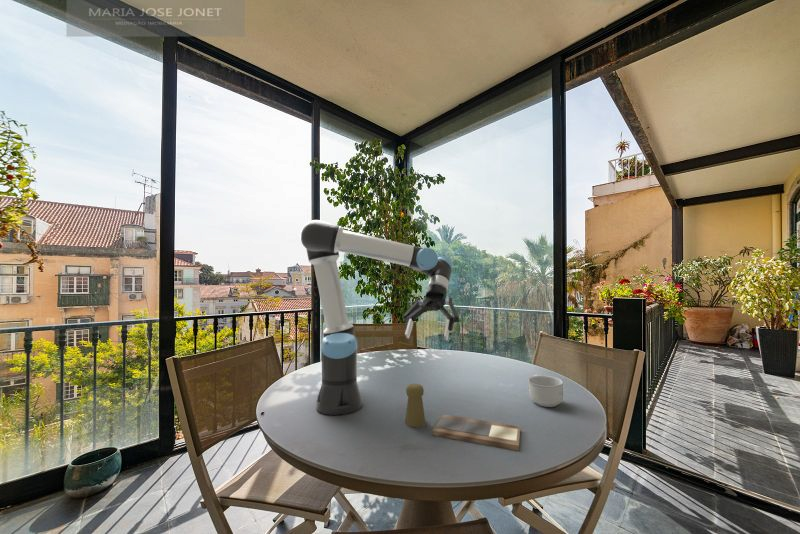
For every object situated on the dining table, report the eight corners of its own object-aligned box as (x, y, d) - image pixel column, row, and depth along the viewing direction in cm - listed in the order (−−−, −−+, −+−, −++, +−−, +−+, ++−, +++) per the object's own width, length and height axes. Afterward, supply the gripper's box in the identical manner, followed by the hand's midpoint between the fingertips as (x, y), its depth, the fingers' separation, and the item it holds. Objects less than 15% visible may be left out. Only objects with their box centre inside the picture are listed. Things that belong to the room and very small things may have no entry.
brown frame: (432, 435, 87) (432, 430, 87) (443, 418, 97) (443, 414, 97) (518, 450, 78) (518, 445, 78) (520, 430, 89) (520, 426, 89)
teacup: (568, 411, 101) (567, 385, 101) (531, 409, 103) (531, 384, 104) (555, 395, 115) (555, 373, 115) (524, 393, 117) (523, 371, 117)
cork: (428, 420, 96) (427, 383, 96) (421, 428, 91) (420, 389, 91) (409, 416, 99) (409, 380, 99) (401, 424, 93) (401, 386, 94)
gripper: (472, 296, 118) (465, 345, 104) (409, 296, 128) (395, 341, 114) (468, 282, 113) (461, 331, 99) (403, 283, 123) (388, 329, 109)
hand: (425, 337), depth 106 cm, fingers open, 13 cm apart
